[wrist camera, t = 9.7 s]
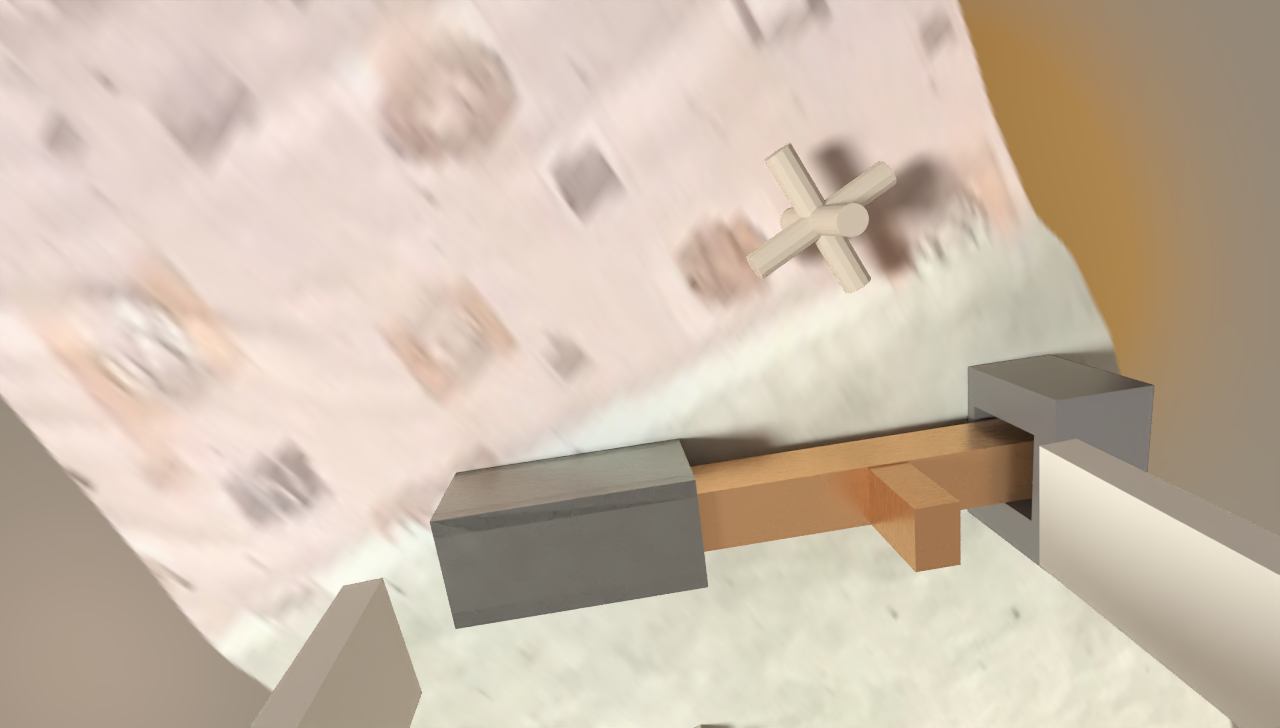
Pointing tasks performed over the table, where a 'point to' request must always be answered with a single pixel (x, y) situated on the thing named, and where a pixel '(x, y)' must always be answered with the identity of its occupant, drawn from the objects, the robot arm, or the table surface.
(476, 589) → the sleeve
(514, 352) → the table surface
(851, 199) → the cream cross joint
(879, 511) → the orange-brown sliding bolt
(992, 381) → the socket block
